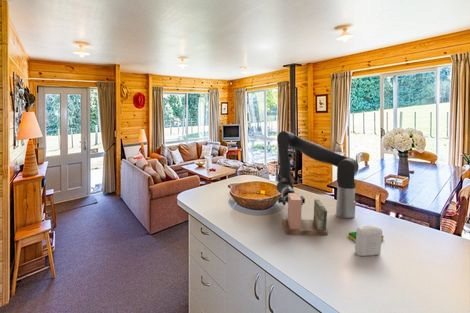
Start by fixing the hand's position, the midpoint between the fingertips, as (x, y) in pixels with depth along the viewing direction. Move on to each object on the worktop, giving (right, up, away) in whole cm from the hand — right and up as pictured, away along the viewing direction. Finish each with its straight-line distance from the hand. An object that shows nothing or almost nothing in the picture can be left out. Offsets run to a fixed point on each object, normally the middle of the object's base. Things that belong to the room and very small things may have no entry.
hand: (293, 203), depth 137 cm
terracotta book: (0, -10, -3) cm, 10 cm away
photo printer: (+25, -16, -27) cm, 40 cm away
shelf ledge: (+5, -12, -3) cm, 13 cm away
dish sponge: (+31, -14, -14) cm, 37 cm away
